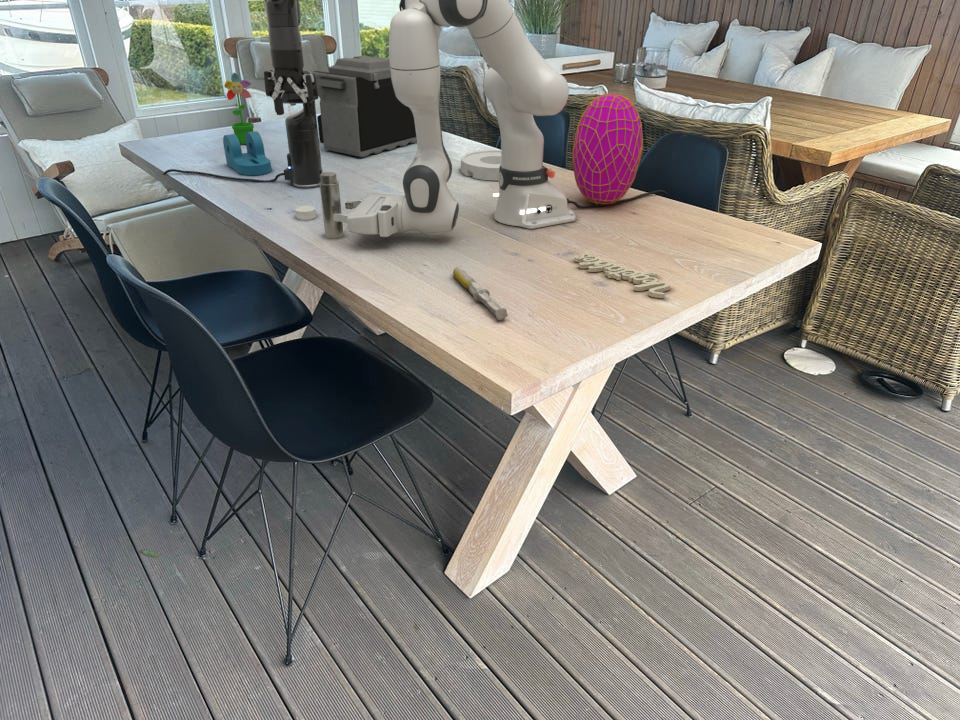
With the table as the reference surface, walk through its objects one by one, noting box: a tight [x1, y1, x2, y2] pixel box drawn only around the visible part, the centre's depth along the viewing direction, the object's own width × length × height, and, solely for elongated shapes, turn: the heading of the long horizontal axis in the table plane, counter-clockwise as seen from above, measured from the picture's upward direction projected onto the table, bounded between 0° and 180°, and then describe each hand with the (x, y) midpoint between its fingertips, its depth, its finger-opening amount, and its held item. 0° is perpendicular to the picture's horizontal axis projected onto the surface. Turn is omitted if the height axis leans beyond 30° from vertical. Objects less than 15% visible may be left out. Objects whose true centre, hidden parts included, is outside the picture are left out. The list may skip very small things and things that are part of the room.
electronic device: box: [310, 55, 417, 159], centre depth 250 cm, size 37×22×30 cm, turn 144°
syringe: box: [452, 266, 509, 321], centre depth 145 cm, size 25×4×3 cm, turn 21°
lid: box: [294, 205, 317, 221], centre depth 187 cm, size 5×5×2 cm
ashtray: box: [460, 149, 501, 182], centre depth 229 cm, size 23×23×4 cm
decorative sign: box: [574, 252, 671, 299], centre depth 155 cm, size 26×1×10 cm
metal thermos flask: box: [319, 171, 345, 240], centre depth 172 cm, size 5×5×16 cm
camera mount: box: [222, 131, 272, 176], centre depth 226 cm, size 18×10×10 cm, turn 35°
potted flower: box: [223, 72, 255, 145], centre depth 254 cm, size 9×8×25 cm
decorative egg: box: [571, 92, 644, 205], centre depth 194 cm, size 19×19×30 cm
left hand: (294, 116), depth 175 cm, fingers open, 8 cm apart
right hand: (340, 210), depth 173 cm, fingers open, 8 cm apart
